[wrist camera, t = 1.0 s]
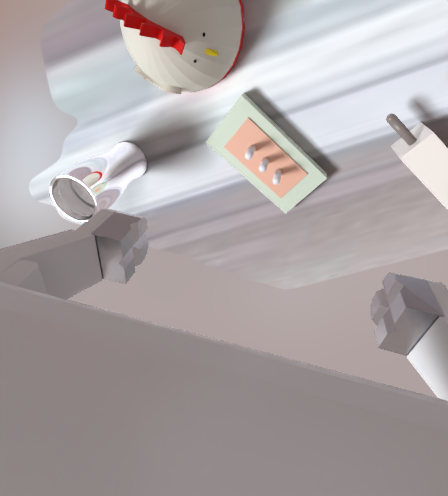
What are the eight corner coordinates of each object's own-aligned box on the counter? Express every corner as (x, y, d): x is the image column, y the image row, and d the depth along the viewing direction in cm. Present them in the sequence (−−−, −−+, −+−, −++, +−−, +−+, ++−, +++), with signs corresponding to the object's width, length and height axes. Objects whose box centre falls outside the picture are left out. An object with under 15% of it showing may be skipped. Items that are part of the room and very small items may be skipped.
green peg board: (244, 92, 40) (236, 100, 36) (326, 172, 43) (328, 188, 39) (209, 138, 45) (198, 149, 40) (286, 207, 48) (284, 224, 44)
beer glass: (117, 129, 47) (52, 162, 35) (156, 155, 48) (105, 195, 36) (105, 164, 51) (43, 204, 39) (141, 187, 52) (91, 233, 40)
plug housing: (397, 95, 36) (408, 103, 32) (467, 175, 39) (485, 191, 36) (368, 121, 39) (375, 132, 35) (436, 195, 42) (449, 212, 38)
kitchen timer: (216, 109, 42) (179, 139, 30) (127, 58, 41) (52, 69, 29) (265, -11, 34) (240, -35, 22) (154, -78, 33) (65, -142, 21)
